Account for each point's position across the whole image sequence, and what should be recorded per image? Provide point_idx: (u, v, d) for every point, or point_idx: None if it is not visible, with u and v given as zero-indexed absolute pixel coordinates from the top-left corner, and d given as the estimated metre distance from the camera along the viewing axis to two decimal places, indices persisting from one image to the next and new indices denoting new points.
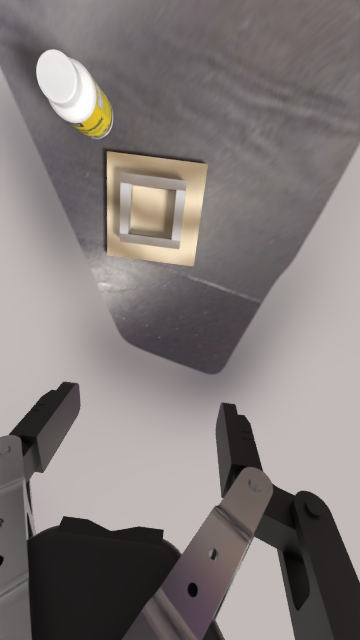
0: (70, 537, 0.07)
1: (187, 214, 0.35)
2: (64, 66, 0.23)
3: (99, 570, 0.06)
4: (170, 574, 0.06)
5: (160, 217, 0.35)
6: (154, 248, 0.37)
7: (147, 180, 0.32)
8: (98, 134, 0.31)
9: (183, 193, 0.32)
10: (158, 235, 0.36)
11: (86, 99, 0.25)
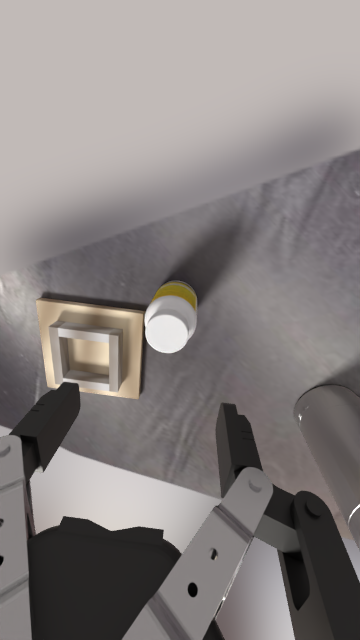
0: (70, 537, 0.07)
1: None
2: (174, 344, 0.22)
3: (99, 570, 0.06)
4: (170, 574, 0.06)
5: (88, 359, 0.34)
6: None
7: (114, 360, 0.31)
8: None
9: (107, 389, 0.33)
10: (70, 356, 0.34)
11: None
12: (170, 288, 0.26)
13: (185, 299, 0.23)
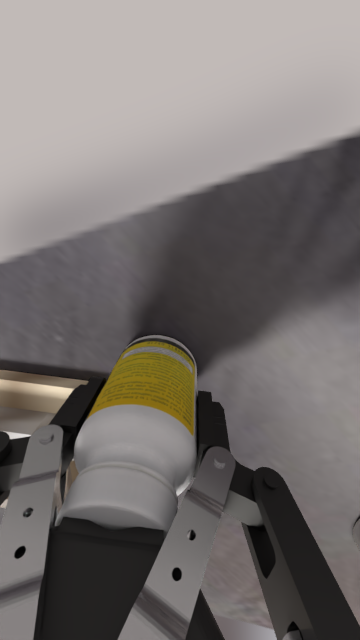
0: (70, 537, 0.07)
1: None
2: None
3: (99, 570, 0.06)
4: (170, 574, 0.06)
5: None
6: None
7: None
8: None
9: None
10: None
11: None
12: (140, 370, 0.12)
13: (168, 412, 0.10)
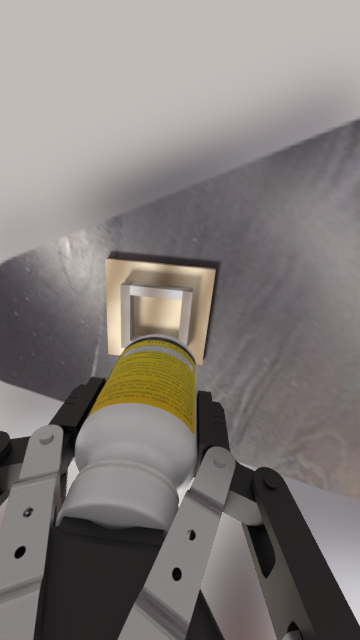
0: (70, 537, 0.07)
1: None
2: None
3: (99, 570, 0.06)
4: (170, 574, 0.06)
5: (154, 323, 0.33)
6: (120, 315, 0.33)
7: (185, 319, 0.30)
8: None
9: None
10: (135, 320, 0.33)
11: None
12: (140, 369, 0.12)
13: (169, 411, 0.10)
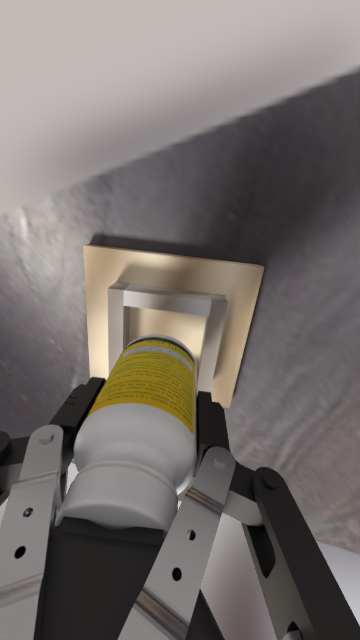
0: (70, 537, 0.07)
1: None
2: None
3: (99, 570, 0.06)
4: (170, 574, 0.06)
5: None
6: None
7: (212, 346, 0.19)
8: None
9: None
10: None
11: None
12: (140, 369, 0.12)
13: (168, 411, 0.10)
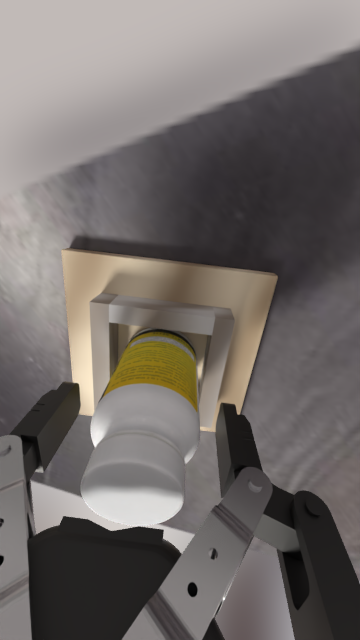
0: (70, 537, 0.07)
1: None
2: (151, 513, 0.09)
3: (99, 570, 0.06)
4: (170, 574, 0.06)
5: None
6: None
7: (215, 369, 0.16)
8: None
9: None
10: None
11: None
12: (148, 355, 0.13)
13: (176, 391, 0.11)
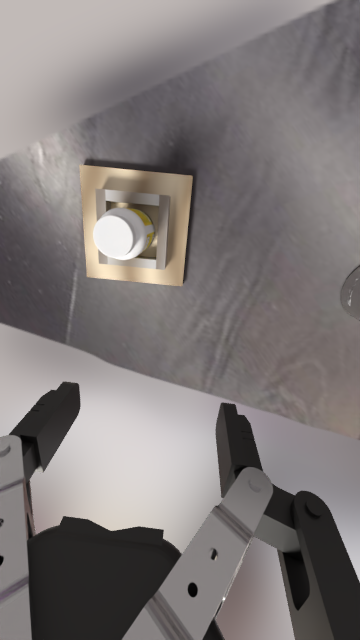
0: (70, 537, 0.07)
1: (137, 268, 0.34)
2: (121, 247, 0.23)
3: (99, 570, 0.06)
4: (170, 574, 0.06)
5: None
6: None
7: (163, 228, 0.30)
8: None
9: (153, 267, 0.32)
10: None
11: None
12: None
13: (134, 212, 0.25)
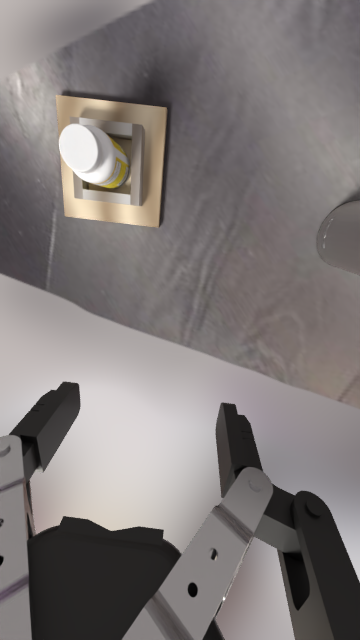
0: (70, 537, 0.07)
1: (114, 207, 0.34)
2: (86, 160, 0.24)
3: (99, 570, 0.06)
4: (170, 574, 0.06)
5: None
6: None
7: (136, 159, 0.30)
8: None
9: (127, 202, 0.32)
10: None
11: (81, 174, 0.26)
12: None
13: None
